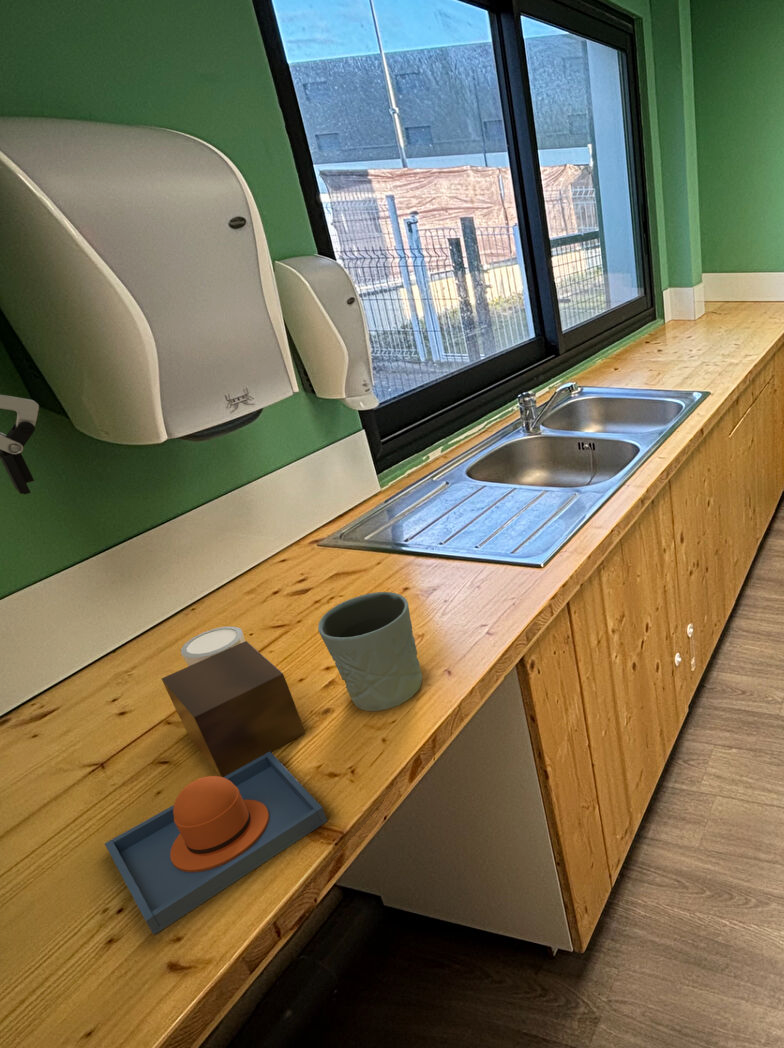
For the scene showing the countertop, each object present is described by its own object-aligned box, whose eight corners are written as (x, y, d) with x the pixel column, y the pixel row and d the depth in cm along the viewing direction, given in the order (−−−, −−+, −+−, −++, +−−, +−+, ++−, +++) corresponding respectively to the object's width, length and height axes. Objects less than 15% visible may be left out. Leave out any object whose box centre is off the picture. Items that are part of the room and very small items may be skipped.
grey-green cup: (442, 669, 95) (423, 594, 90) (398, 721, 86) (374, 640, 81) (376, 663, 97) (353, 589, 92) (326, 713, 88) (298, 634, 83)
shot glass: (186, 695, 92) (166, 652, 89) (233, 664, 98) (216, 622, 95) (226, 704, 90) (207, 660, 87) (271, 671, 96) (255, 629, 93)
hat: (188, 888, 65) (159, 836, 62) (159, 842, 70) (132, 791, 67) (283, 828, 71) (261, 777, 68) (250, 789, 76) (229, 740, 73)
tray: (154, 935, 62) (145, 920, 61) (112, 857, 70) (104, 843, 69) (328, 821, 72) (322, 807, 72) (275, 764, 80) (269, 751, 79)
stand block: (222, 779, 78) (194, 717, 74) (189, 737, 85) (161, 678, 81) (305, 733, 85) (283, 673, 81) (268, 697, 91) (246, 640, 87)
